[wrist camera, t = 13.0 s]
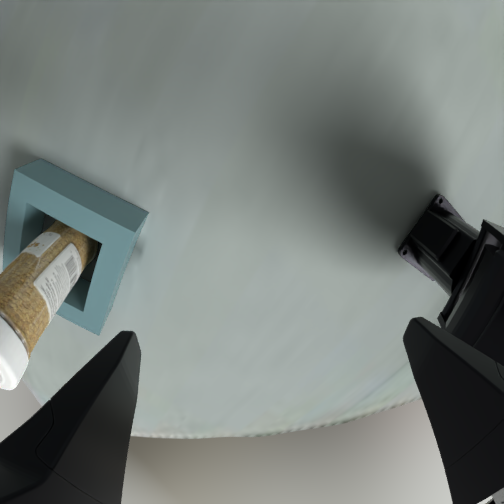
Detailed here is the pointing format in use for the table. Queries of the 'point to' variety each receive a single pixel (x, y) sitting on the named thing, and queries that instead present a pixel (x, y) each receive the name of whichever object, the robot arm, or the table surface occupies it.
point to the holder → (83, 220)
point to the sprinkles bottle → (37, 293)
